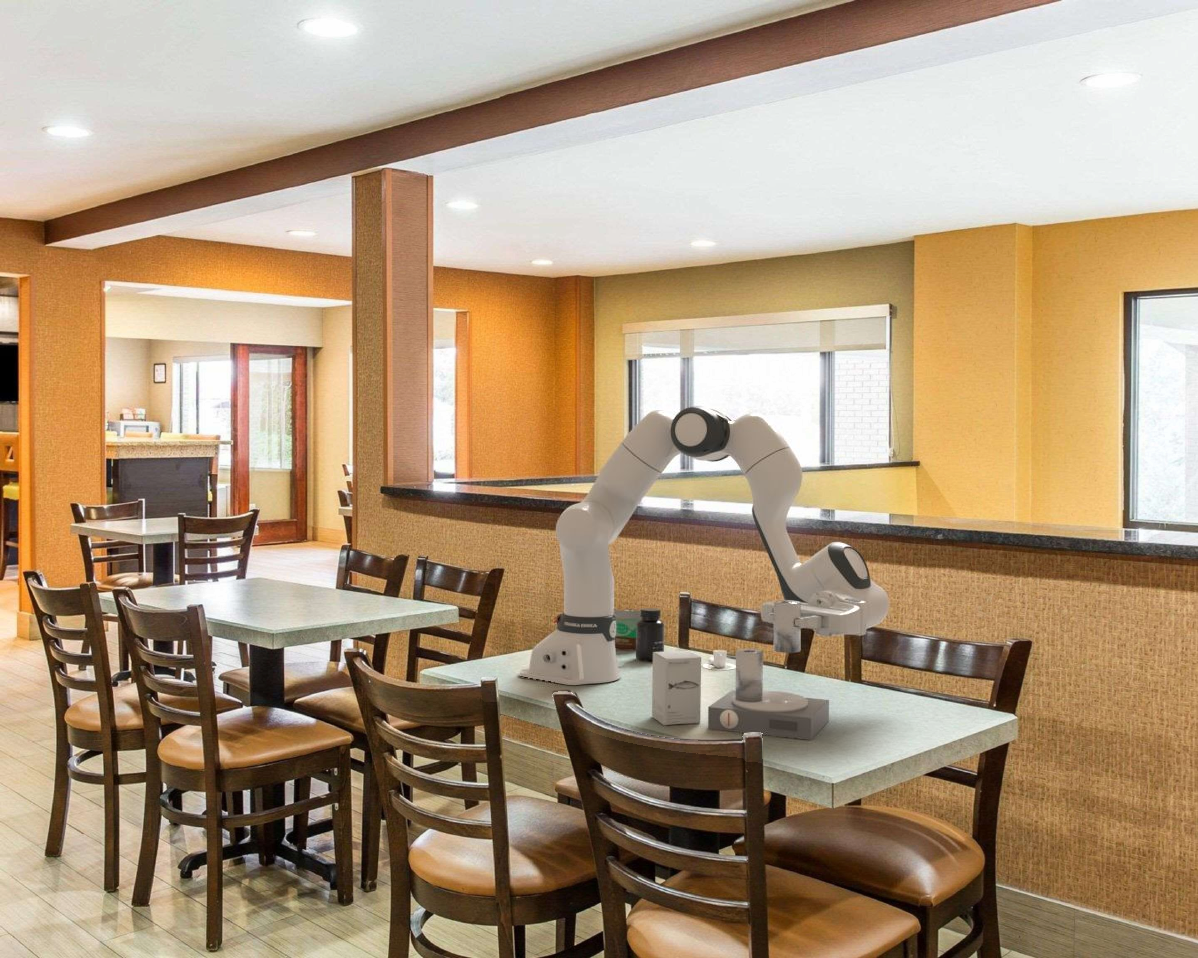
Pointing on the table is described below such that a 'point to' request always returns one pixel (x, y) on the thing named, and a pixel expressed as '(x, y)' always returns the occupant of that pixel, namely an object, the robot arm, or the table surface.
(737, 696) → the cylinder
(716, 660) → the teacup and saucer
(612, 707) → the table surface
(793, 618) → the cylinder
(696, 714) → the supplement box
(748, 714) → the dial scale
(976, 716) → the table surface
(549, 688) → the table surface
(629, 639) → the food container
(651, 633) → the supplement bottle
